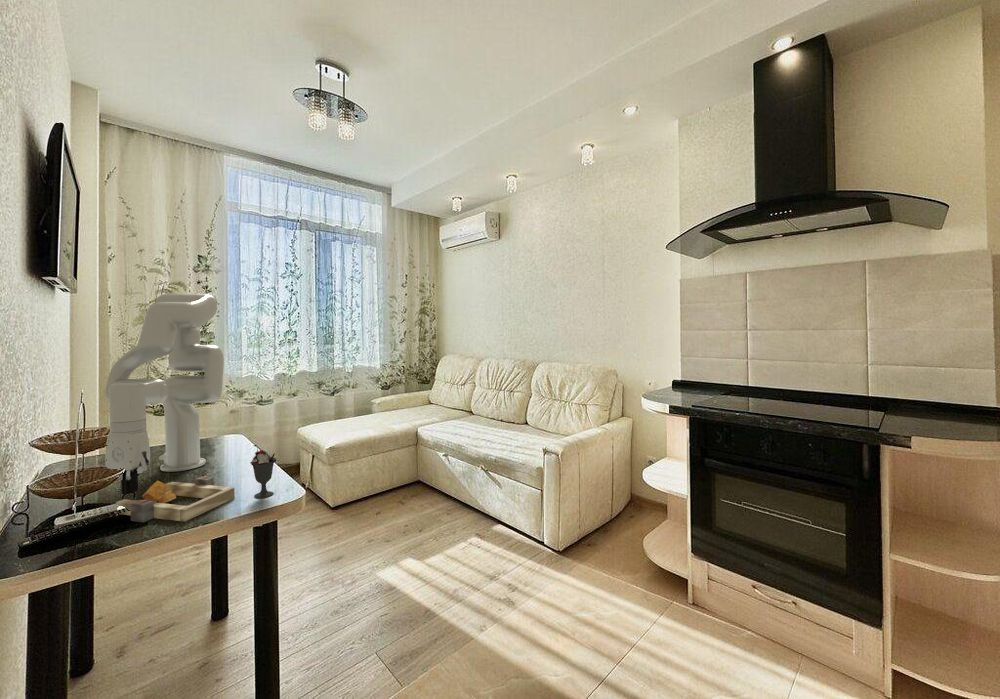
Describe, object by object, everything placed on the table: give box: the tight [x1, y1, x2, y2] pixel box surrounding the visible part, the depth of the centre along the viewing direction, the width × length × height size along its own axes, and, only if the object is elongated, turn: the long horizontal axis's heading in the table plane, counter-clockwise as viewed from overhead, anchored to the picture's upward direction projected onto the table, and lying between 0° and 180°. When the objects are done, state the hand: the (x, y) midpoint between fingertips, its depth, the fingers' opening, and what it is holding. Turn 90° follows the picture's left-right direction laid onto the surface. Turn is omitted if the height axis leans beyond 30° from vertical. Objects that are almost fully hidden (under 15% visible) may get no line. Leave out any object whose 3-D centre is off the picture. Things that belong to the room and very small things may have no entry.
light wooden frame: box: [115, 475, 235, 523], centre depth 113 cm, size 22×20×5 cm
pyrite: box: [141, 480, 177, 504], centre depth 115 cm, size 5×7×4 cm
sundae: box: [249, 444, 277, 499], centre depth 120 cm, size 7×7×15 cm
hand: (129, 492), depth 116 cm, fingers closed
